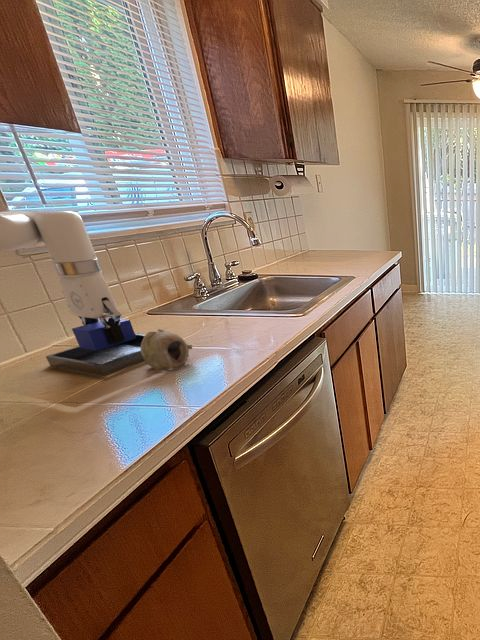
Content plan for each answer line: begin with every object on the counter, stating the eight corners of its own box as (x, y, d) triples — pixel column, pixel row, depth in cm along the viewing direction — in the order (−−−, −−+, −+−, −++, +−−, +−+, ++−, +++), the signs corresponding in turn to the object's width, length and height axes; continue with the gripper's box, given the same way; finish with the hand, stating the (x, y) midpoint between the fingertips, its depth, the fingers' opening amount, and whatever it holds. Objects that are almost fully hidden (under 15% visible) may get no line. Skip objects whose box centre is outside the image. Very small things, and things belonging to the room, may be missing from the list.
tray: (51, 368, 97) (45, 356, 96) (128, 342, 112) (124, 331, 111) (105, 378, 91) (99, 366, 90) (179, 350, 107) (175, 338, 105)
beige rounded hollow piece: (155, 382, 95) (121, 350, 89) (166, 363, 101) (135, 332, 95) (194, 366, 96) (163, 334, 90) (202, 348, 102) (173, 317, 96)
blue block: (80, 347, 97) (71, 328, 95) (120, 335, 105) (113, 317, 103) (96, 350, 95) (88, 331, 93) (136, 338, 103) (129, 319, 101)
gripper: (34, 268, 92) (67, 341, 99) (84, 273, 87) (115, 350, 94) (73, 263, 98) (101, 332, 105) (122, 267, 93) (148, 339, 100)
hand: (108, 339), depth 100 cm, fingers closed on blue block, 6 cm apart
